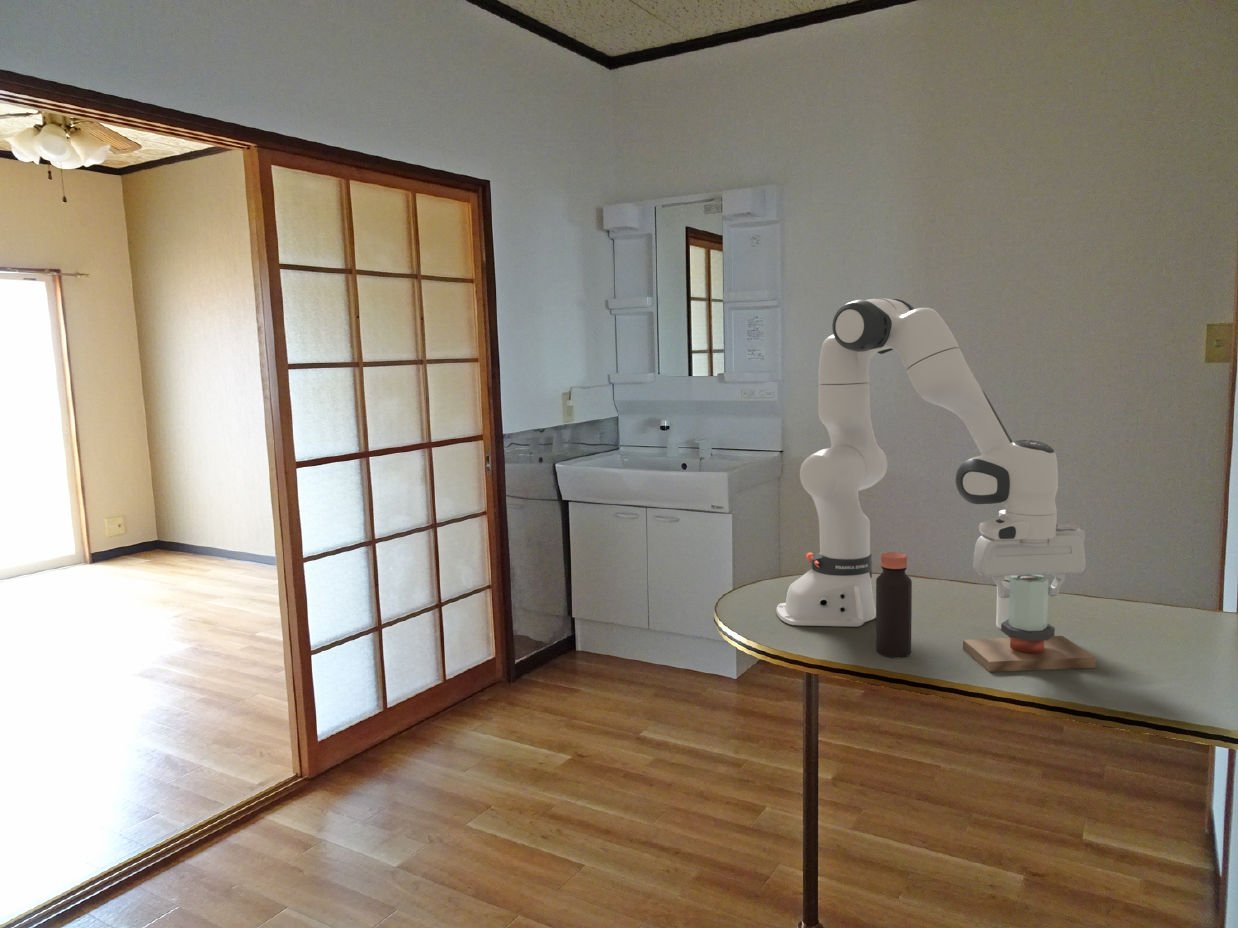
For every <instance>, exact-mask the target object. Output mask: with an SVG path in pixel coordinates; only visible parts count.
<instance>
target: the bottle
mask: <svg viewBox="0 0 1238 928" xmlns="http://www.w3.org/2000/svg"><path fill="white" fill-rule="evenodd" d="M880 566H881V567H880V568H881V570H882V572H881V573H880V574H879V575H878V576H877V577H876V580H875V608H876V618H875V651H876V653H877V654H879V655H881V656H883V657H886V658H887V657H888V658H894V657H900V658H905V657H908V656H910V654H911V653H912V613H913V611H912V608H913V605H912V603H913V602H912V598H913V594H912V593H913V584H912V583H913V581H912V579H911V577H909V575H908V574H907V573H906V570H907V568H908V555H907V554H905V553H903V552H897V551H896V552H894V551H893V552H884V553H882V554H881V555H880Z"/></svg>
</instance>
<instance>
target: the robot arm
mask: <svg viewBox="0 0 1238 928" xmlns="http://www.w3.org/2000/svg"><path fill="white" fill-rule="evenodd" d="M832 319H833V320H832V327H831V328H832V333H833V334H831V335H829V336H828V337H827V338H825V339H824V341H822V345H821V348H820V355H819V362H818V373H817V374H818V375H817V376H818V377H817V379H818V381H817V382H818V383H817V384H818V386H817V389H818V391H817V392H818V393H817V395H818V396H817V398H818V400H817V401H818V404H817V405H818V417H819V421H820V422H821V423H822V425H824V426H825V428H826V430H827V433H828V436H829V440H830V445H831V446H830V447H828V448H827V447H826V448H823V449H820V450H817V451H816V452H814V453H812V454H811V455H809V456H808V457H807V458H805V459H804V461H803V462H802V463H801V466H800V469H799V479H800V484H801V486H802V487H803V489H804V491H805V492H806V493H808V494H809V496H810V497H811V498H812V500H813V503H814V506H815V509H816V514H817V518H818V525H819V526H818V527H819V531H818V532H819V552H818V553H816V554H814V553H813V552H807V553H806V554H805V559H806V560H807V561H808V562H809V563H810V567H811V569H809V570H808V571H807V572H806V573H804V574H803V575H801V576H800V577H798V578H797V579H796V580H795V581H793V582H791V583H790V585H789V587H788V590H787V591H786V592H787V594H786V599H785V602H781V603H778V604H777V606H776V615H777V616H778V618H779V620H781V621H782V622H784V623H785V624H787V625H790V626H791V625H792V626H805V627H806V626H809V627H812V626H815V627H817V626H818V627H854V628H855V627H861V626H862V625H864V624H865V623H866V622H869V621H872V620H874V619H876V603H875V600H874V595H873V589H872V588H873V587H872V578H873V555H872V553H871V522H870V518H869V517H868V516H867V515H866V514H865V513H864V511H863V509H862V507H861V504H860V499H859V491H863V490H867V489H869V488H871V487H872V486H874V485H876V484H877V483H879V482H880V481H881V480H882V479H883V478H884V477H885V475H886V473H887V470H888V459H887V456H886V454H885V451H883V450H882V449H881V448H880V446H879V445H878V442H877V439H876V437H875V436H876V435H875V433H874V428H873V423H872V417H871V390H870V389H871V388H870V364H871V361H872V359H873V357H874V356H875V355H876V354H880V355H882V354H886V353H888V352H891V351H895V352H896V353H897V354H898V356H899V358H900V360H901V362H902V364H903V366H904V370H905V371H906V374H907V376H908V379H909V382H910V383H911V386H912V387H913V388H914V390H915V391H916V393H917V394H918V395H919V397H921V399H923V400H924V401H925V402H928V403H930V404H932V405H935V406H938V407H940V408H943V409H946V410H948V411H950V412H952V413H953V414H955V415H956V416H957V417H959V418H960V420H961V421H962V422H963V423H964V425H965V426H966V428H967V430H968V433H969V434H970V435H971V437H972V440H973V441H974V443H975V445H976V447H977V448H978V450H979V452H980V455H977V456H974V457H971V458H969V459H967V460H965V461H963V462H962V463H961V464H960V465H959V467H958V468H957V470H956V473H955V486H956V489H957V492H958V493H959V495H960V496H961V497H962V499H963V500H965V501H966V502H968V503H969V504H973V505H982V506H987V505H992V504H1002V505H1004V507H1005V509H1004V510H1005V514H1003V515H1001V516H999V515H998V516H995V517H994V518H991V519H988V520H985V521H982V522H981V523H979V525H978V531H979V532H980V534H982V535H980V536H979V537H978V538H977V540H976V542H975V545H974V552H973V560H972V561H973V564H972V567H973V569H974V571H975V572H976V573H977V574H979V575H980V576H982V577H985V578H986V577H987V578H988V577H992V580H993V582H994V584H995V586H996V588H997V587H998V596H999V597H1000V598H1009V597H1010V595H1009V593H1010V589H1008V588H1006V587H1004V586H1003V584H1002V582H1001V581H1004V577H1005V576H1015V575H1052V576H1053V577H1054V578H1053V580H1052V582H1051V584H1048V597H1059V594H1060V588H1061V586H1062V585H1063V583H1064V582H1065V580H1066V574H1081V573H1082V572H1084V570H1085V569H1086V551H1085V545H1084V543H1085V540H1086V533H1085V530H1084V529H1083V528H1082V527H1081V526H1078V525H1077V524H1075V523H1073V524H1072V523H1071V524H1057V522H1058V521H1057V519H1058V509H1057V504H1056V496H1057V494H1058V489H1059V487H1058V486H1059V471H1058V470H1059V468H1058V460H1057V459H1058V458H1057V454H1056V451H1055V450H1054V448H1053V447H1052V446H1050V445H1048V444H1047V443H1045V442H1041V441H1037V440H1033V439H1032V440H1031V439H1030V440H1029V439H1017V440H1016V439H1015V440H1012V438H1011V437H1010V435H1009V433H1008V431H1007V429H1006V428H1005V426H1004V424H1003V423H1002V420H1001V419H1000V417H999V414H997V411H996V410H995V408H994V406H993V404H992V403H991V401H990V399H989V398H988V396H987V394H986V393H985V391H984V390H983V389H982V386H981V385H980V384H979V382H978V381H977V379H976V378H975V376H974V374H973V373H972V370H971V368H970V367H969V365H968V363H967V361H966V358H965V356H964V354H963V352H962V350H961V349H960V345H959V344H958V342H957V340H956V338H955V336H954V334H953V332H952V331H951V329H950V328H949V326H948V325H947V323H946V322H945V320H944V319H943V317H942V316H941V315H940V313H938V311H936V310H935V309H933V308H931V307H918V308H914V306H913V305H912V304H911V303H908V302H906V300H905V301H904V300H902V299H898V298H884V297H883V298H882V297H873V298H870V299H857V300H853V301H850V302H847V303H846V304H844V305H842V306H841V307H840V308H839V309H838V310H837V311H836V313H835V315H834V317H833V318H832Z"/></svg>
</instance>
